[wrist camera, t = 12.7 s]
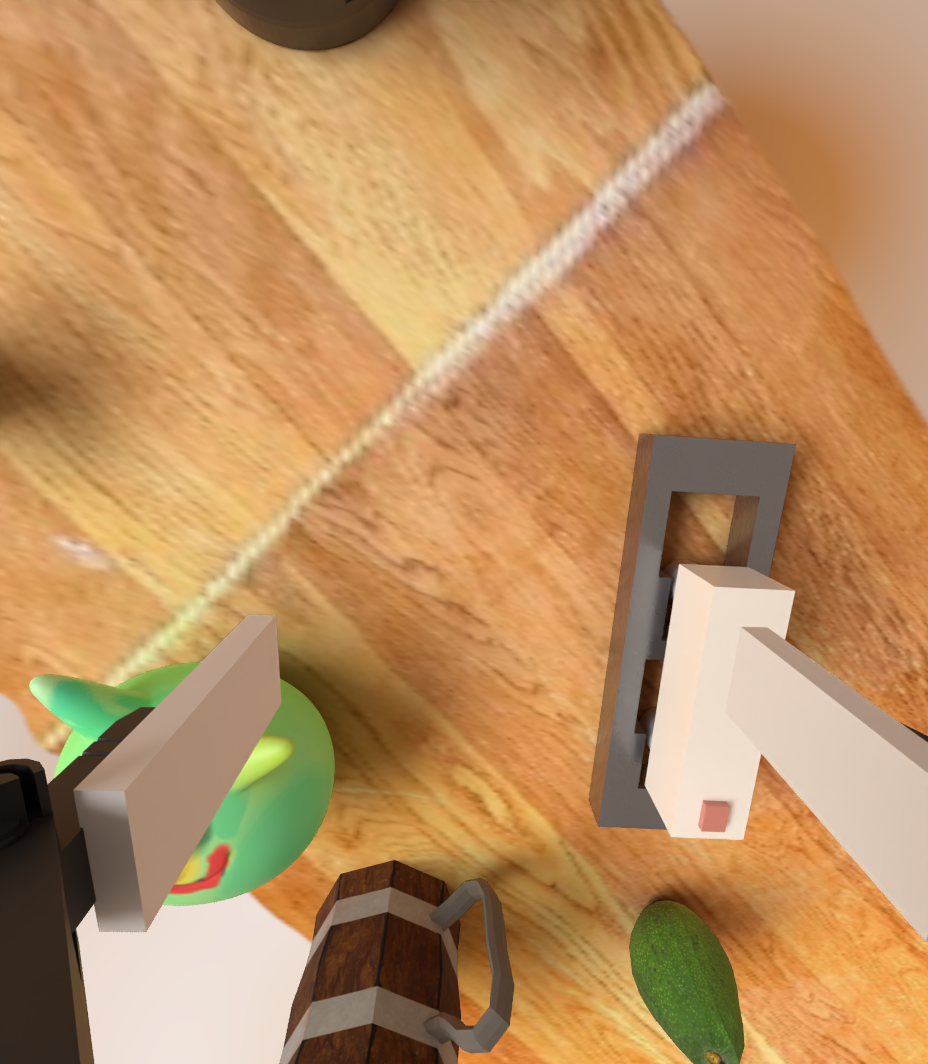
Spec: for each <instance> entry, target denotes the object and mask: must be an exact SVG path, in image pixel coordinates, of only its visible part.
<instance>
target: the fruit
mask: <svg viewBox="0 0 928 1064" xmlns="http://www.w3.org/2000/svg"><path fill="white" fill-rule="evenodd" d="M629 949H630V957H631V966H632V974H633V977H634V979H635V982H636V985H637V988H638V990H639V993H640V995H641V997H642V999H643V1001H644V1003H645V1004H646V1006H647V1007H648V1009H649V1011H650V1012H651V1014H652V1015H653V1017H654V1018H655V1020H656V1021H657V1022H658V1023H659V1025H660V1026H661V1027H662V1028H663V1030H664V1031H665V1032H666V1033H667V1035H668V1036H669V1037H670V1038H671V1039H672V1041H673V1042H674V1043H675V1044H676V1045H677V1047H678V1048H679V1049H680V1050H681V1051H682V1052H683V1053H684V1054H685V1055H686V1056H687V1057H688V1058H689V1060H690V1061H691V1062H692V1063H693V1064H739V1063H740V1060H741V1056H742V1053H743V1050H744V1033H743V1023H742V1018H741V1012H740V1007H739V999H738V991H737V986H736V981H735V977H734V973H733V969H732V966H731V964H730V962H729V959H728V957H727V955H726V953H725V951H724V950H723V948H722V946H721V944H720V942H719V940H718V939H717V937H716V935H715V934H714V933H713V932H712V931H711V929H710V928H709V927H708V926H707V925H706V923H705V922H704V921H703V920H702V919H701V918H700V917H699V916H698V915H697V914H695V913H694V912H693V911H692V910H690V909H689V908H688V907H686V906H684V905H683V904H681V903H677V902H674V901H670V900H666V901H657V902H654V903H653V904H651V905H649V906H647V907H646V908H645V909H644V910H643V912H642V913H641V914H640V916H639V917H638V919H637V921H636V923H635V926H634V928H633V930H632V933H631V939H630V945H629Z"/></svg>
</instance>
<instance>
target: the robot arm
mask: <svg viewBox="0 0 928 1064" xmlns="http://www.w3.org/2000/svg"><path fill="white" fill-rule="evenodd" d="M216 1H217V3H218V4H219V5H220V6H221V7H222V8H223V9H224V10H225V11H226V12H227V13H228V14H229V15H230V16H231V17H232V18H233V19H234V20H235V21H237V22H238V23H239V24H240V25H242V26H243V27H244V28H246V29H247V30H249V31H250V32H252V33H254V34H255V35H257V36H259V37H261V38H263V39H265V40H267V41H270V42H272V43H275V44H278V45H281V46H285V47H289V48H294V49H303V50H318V49H326V48H331V47H336V46H339V45H342V44H345V43H348V42H350V41H352V40H355V39H356V38H358V37H360V36H362V35H364V34H365V33H367V32H368V31H370V30H371V29H372V28H373V27H375V26H376V25H377V24H378V23H379V22H381V21H382V20H383V19H384V18H385V17H386V16H387V15H388V13H389V12H390V11H391V10H392V9H393V7H394V6H395V5H396V4H397V2H398V1H399V0H216ZM280 704H281V687H280V671H279V656H278V640H277V624H276V615H247V616H246V617H245V618H244V619H243V620H242V621H241V622H240V623H239V624H238V625H237V626H236V627H235V628H234V629H233V630H232V631H231V632H230V633H229V634H228V635H227V636H226V637H225V638H224V639H223V640H222V641H221V642H220V643H219V644H218V645H217V646H216V647H215V648H214V649H213V650H212V651H211V652H210V653H209V654H208V655H207V656H206V658H205V659H204V660H203V661H202V662H201V663H200V664H199V665H198V666H197V667H196V668H195V669H194V670H193V671H192V672H191V673H190V674H189V675H188V676H187V677H186V678H185V679H184V680H183V681H182V682H181V683H180V684H179V685H178V686H177V687H176V688H175V689H174V690H173V691H172V692H171V693H170V694H169V695H168V696H167V697H166V698H165V699H164V700H163V701H162V702H161V703H160V704H159V705H158V706H157V707H140V708H138V709H137V710H135V711H133V712H131V713H130V714H128V715H126V716H124V717H122V718H121V719H119V720H117V721H116V722H115V723H113V724H112V725H111V726H110V727H109V728H108V729H107V730H106V731H105V732H104V733H103V734H102V735H101V736H99V737H98V740H97V741H94V742H93V743H92V744H91V745H90V746H89V747H88V748H86V749H85V750H84V751H83V753H82V756H78V757H77V758H76V759H75V760H74V761H72V762H71V763H70V764H69V765H68V766H67V767H66V768H65V769H64V770H63V771H62V772H61V773H60V774H58V775H57V776H56V777H55V778H54V779H53V780H52V781H51V782H50V783H49V784H48V785H47V780H46V775H45V770H44V768H43V767H42V765H41V764H40V762H37V761H34V760H30V759H14V760H13V759H11V760H5V761H1V762H0V1064H94V1058H93V1050H92V1042H91V1034H90V1026H89V1019H88V1011H87V1004H86V995H85V987H84V980H83V972H82V964H81V957H80V949H79V942H78V937H77V932H76V928H77V926H78V925H79V924H80V922H81V921H82V920H83V918H84V917H85V915H86V914H87V913H88V911H89V910H90V908H91V907H92V906H93V904H94V906H95V912H96V917H97V922H98V927H99V931H100V932H102V931H103V932H147V930H148V928H149V926H150V925H151V923H152V921H153V920H154V918H155V916H156V915H157V913H158V911H159V909H160V908H161V906H162V904H163V903H164V901H165V899H166V898H167V896H168V894H169V893H170V891H171V889H172V887H173V886H174V884H175V882H176V881H177V879H178V877H179V876H180V874H181V872H182V871H183V869H184V867H185V865H186V864H187V862H188V860H189V859H190V857H191V855H192V854H193V852H194V850H195V848H196V847H197V845H198V843H199V842H200V840H201V838H202V837H203V835H204V833H205V832H206V830H207V828H208V826H209V825H210V823H211V821H212V820H213V818H214V816H215V815H216V813H217V811H218V810H219V808H220V806H221V804H222V803H223V801H224V799H225V798H226V796H227V794H228V793H229V791H230V789H231V788H232V786H233V784H234V782H235V781H236V779H237V777H238V776H239V774H240V772H241V771H242V769H243V767H244V765H245V764H246V762H247V760H248V759H249V757H250V755H251V754H252V752H253V750H254V749H255V747H256V745H257V743H258V742H259V740H260V738H261V737H262V735H263V733H264V732H265V730H266V728H267V727H268V725H269V723H270V721H271V720H272V718H273V716H274V715H275V713H276V711H277V710H278V708H279V706H280ZM726 713H727V715H728V716H729V717H730V718H731V719H732V720H733V721H734V723H735V724H736V725H737V726H738V727H739V728H740V730H741V731H742V732H743V733H744V734H745V735H746V736H747V738H748V739H749V740H750V741H751V742H752V743H753V744H754V746H755V747H756V748H757V749H758V750H759V751H760V752H761V754H762V755H763V756H764V757H765V758H766V759H767V761H768V762H769V763H770V764H771V765H772V766H773V767H774V769H775V770H776V771H777V772H778V773H779V774H780V775H781V777H782V778H783V779H784V780H785V781H786V782H787V783H788V785H789V786H790V787H791V788H792V789H793V790H794V792H795V793H796V794H797V795H798V796H799V797H800V798H801V800H802V801H803V802H804V803H805V804H806V805H807V806H808V808H809V809H810V810H811V811H812V812H813V813H814V814H815V816H816V817H817V818H818V819H819V820H820V821H821V823H822V824H823V825H824V826H825V827H826V828H827V829H828V831H829V832H830V833H831V834H832V835H833V836H834V837H835V839H836V840H837V841H838V842H839V843H840V844H841V845H842V847H843V848H844V849H845V850H846V851H847V852H848V854H849V855H850V856H851V857H852V858H853V859H854V860H855V862H856V863H857V864H858V865H859V866H860V867H861V868H862V870H863V871H864V872H865V873H866V874H867V875H868V876H869V878H870V879H871V880H872V881H873V882H874V883H875V885H876V886H877V887H878V888H879V889H880V890H881V891H882V893H883V894H884V895H885V896H886V897H887V898H888V899H889V901H890V902H891V903H892V904H893V905H894V906H895V907H896V909H897V910H898V911H899V912H900V913H901V914H902V916H903V917H904V918H905V919H906V920H907V921H908V922H909V924H910V925H911V926H912V927H913V928H914V929H915V930H916V932H917V933H918V934H919V935H920V936H921V937H922V938H923V940H924V941H925V942H928V736H926V735H924V734H922V733H920V732H918V731H916V730H914V729H912V728H910V727H908V726H906V725H904V724H902V723H900V722H898V721H897V720H896V719H894V718H893V717H891V716H890V715H889V714H887V713H886V712H884V711H883V710H882V709H880V708H879V707H878V706H876V705H875V704H873V703H872V702H871V701H869V700H868V699H866V698H865V697H864V696H862V695H861V694H859V693H858V692H857V691H855V690H854V689H852V688H851V687H850V686H848V685H847V684H846V683H844V682H843V681H841V680H840V679H839V678H837V677H836V676H834V675H833V674H832V673H830V672H829V671H827V670H826V669H825V668H823V667H822V666H820V665H819V664H818V663H816V662H815V661H814V660H812V659H811V658H809V657H808V656H807V655H805V654H804V653H802V652H801V651H800V650H798V649H797V648H795V647H794V646H793V645H791V644H790V643H788V642H787V641H786V640H784V639H783V638H782V637H780V636H779V635H777V634H776V633H775V632H773V631H772V630H770V629H769V628H768V627H741V628H740V634H739V640H738V645H737V651H736V656H735V662H734V668H733V673H732V679H731V684H730V690H729V696H728V701H727V707H726Z"/></svg>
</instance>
